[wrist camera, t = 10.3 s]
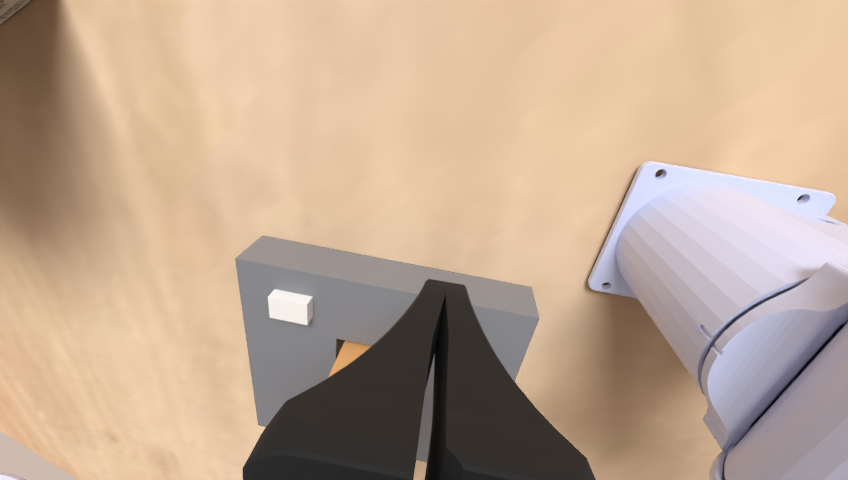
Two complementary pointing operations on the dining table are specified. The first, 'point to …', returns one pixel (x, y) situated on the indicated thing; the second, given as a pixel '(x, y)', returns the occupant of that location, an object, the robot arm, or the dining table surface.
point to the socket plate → (352, 315)
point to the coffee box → (10, 8)
